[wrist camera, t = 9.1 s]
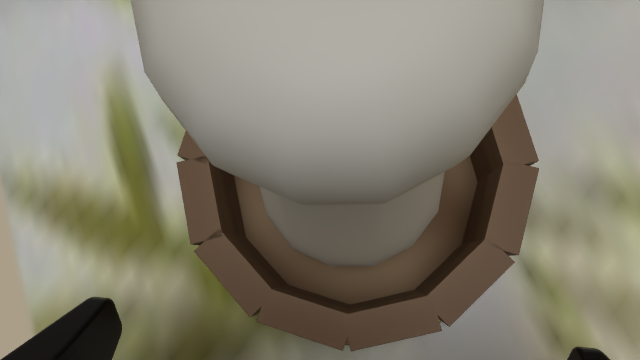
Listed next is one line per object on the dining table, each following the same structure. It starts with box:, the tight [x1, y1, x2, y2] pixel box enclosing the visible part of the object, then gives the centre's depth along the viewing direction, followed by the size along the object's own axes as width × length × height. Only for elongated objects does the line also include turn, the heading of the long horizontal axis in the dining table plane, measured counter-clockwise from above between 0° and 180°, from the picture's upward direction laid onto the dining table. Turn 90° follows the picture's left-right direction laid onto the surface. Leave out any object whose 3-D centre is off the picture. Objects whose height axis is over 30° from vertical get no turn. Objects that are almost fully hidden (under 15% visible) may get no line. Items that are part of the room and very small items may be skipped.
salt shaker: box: [131, 0, 544, 266], centre depth 10 cm, size 6×6×13 cm
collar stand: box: [177, 94, 539, 351], centre depth 16 cm, size 12×12×4 cm
